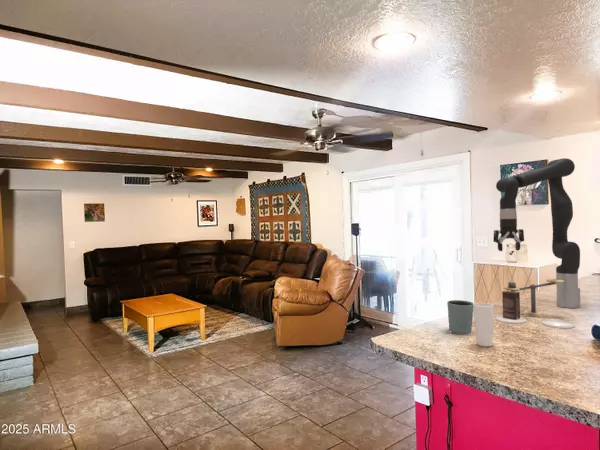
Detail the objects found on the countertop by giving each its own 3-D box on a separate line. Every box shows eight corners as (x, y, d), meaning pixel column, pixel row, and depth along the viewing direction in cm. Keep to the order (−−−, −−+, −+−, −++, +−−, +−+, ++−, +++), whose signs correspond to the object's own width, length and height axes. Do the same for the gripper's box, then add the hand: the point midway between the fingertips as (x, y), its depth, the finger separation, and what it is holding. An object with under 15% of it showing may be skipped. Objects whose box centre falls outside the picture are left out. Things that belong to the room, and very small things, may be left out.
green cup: (447, 327, 171) (446, 299, 171) (472, 328, 168) (472, 300, 168) (448, 334, 161) (447, 304, 161) (475, 335, 158) (475, 305, 158)
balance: (564, 316, 184) (563, 279, 183) (565, 319, 178) (564, 281, 177) (504, 311, 196) (504, 276, 196) (504, 314, 190) (503, 278, 190)
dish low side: (516, 316, 185) (516, 314, 185) (531, 323, 173) (531, 321, 173) (490, 317, 185) (490, 315, 185) (504, 324, 173) (504, 322, 173)
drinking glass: (493, 342, 149) (492, 302, 148) (495, 348, 142) (495, 306, 142) (473, 341, 151) (472, 302, 151) (475, 347, 144) (474, 305, 144)
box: (520, 318, 178) (520, 291, 178) (516, 320, 176) (515, 293, 175) (506, 316, 183) (506, 290, 183) (502, 317, 180) (501, 291, 180)
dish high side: (562, 320, 176) (562, 318, 176) (581, 328, 164) (581, 325, 164) (535, 321, 176) (535, 319, 176) (553, 329, 164) (553, 326, 164)
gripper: (517, 217, 201) (518, 249, 202) (490, 218, 201) (491, 250, 201) (526, 217, 194) (527, 250, 194) (498, 218, 193) (499, 251, 194)
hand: (509, 250), depth 198 cm, fingers open, 8 cm apart
